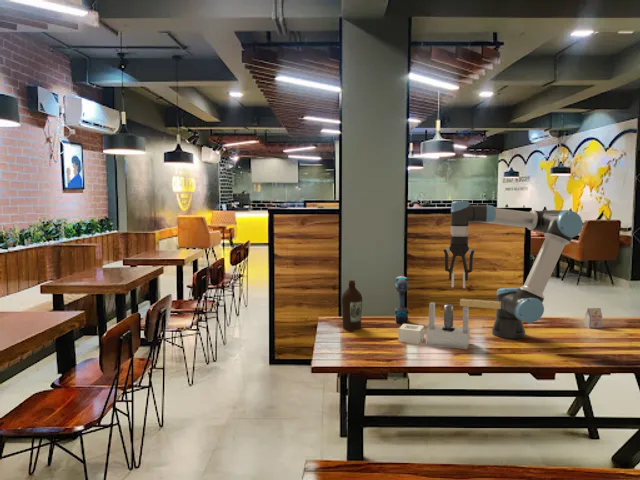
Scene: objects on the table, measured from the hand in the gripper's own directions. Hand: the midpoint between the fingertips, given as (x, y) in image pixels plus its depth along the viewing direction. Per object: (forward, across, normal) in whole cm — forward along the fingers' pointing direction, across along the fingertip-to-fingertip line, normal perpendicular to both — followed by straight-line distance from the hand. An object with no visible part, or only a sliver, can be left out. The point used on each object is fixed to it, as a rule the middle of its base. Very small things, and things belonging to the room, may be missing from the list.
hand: (458, 287), depth 211 cm
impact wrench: (+27, +34, -33) cm, 54 cm away
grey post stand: (+27, +4, 0) cm, 27 cm away
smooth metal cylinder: (+25, +4, 0) cm, 25 cm away
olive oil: (+27, +54, -9) cm, 61 cm away
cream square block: (+27, +21, 0) cm, 34 cm away
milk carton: (+27, -61, -59) cm, 89 cm away
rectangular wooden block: (+8, -10, 0) cm, 13 cm away
